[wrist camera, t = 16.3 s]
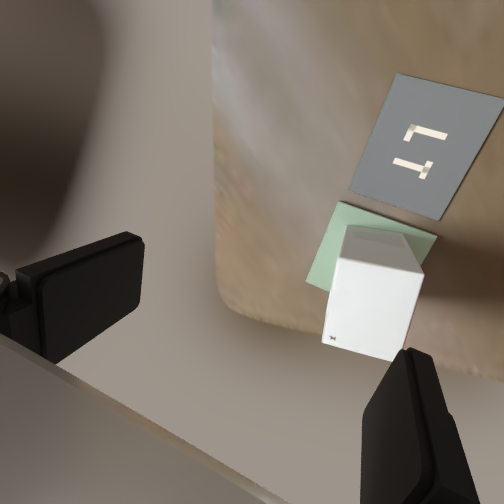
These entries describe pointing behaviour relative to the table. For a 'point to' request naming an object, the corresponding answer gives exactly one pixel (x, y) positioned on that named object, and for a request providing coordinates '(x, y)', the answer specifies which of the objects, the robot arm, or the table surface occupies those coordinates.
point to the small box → (372, 293)
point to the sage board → (359, 217)
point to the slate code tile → (424, 144)
